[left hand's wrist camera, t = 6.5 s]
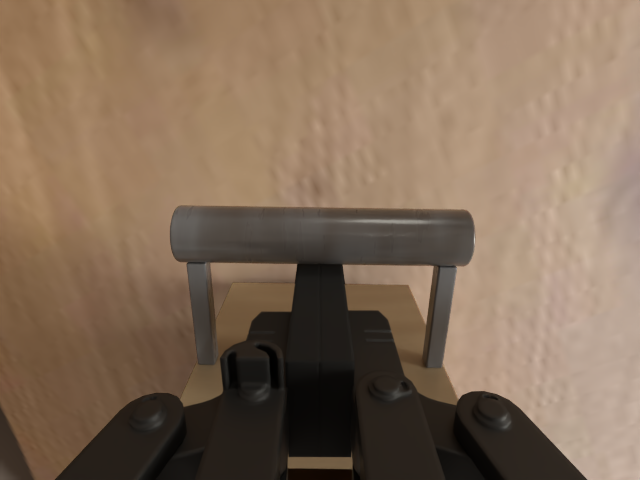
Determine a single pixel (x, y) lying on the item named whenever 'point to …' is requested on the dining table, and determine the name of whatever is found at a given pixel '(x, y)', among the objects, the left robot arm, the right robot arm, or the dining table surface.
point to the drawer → (322, 248)
